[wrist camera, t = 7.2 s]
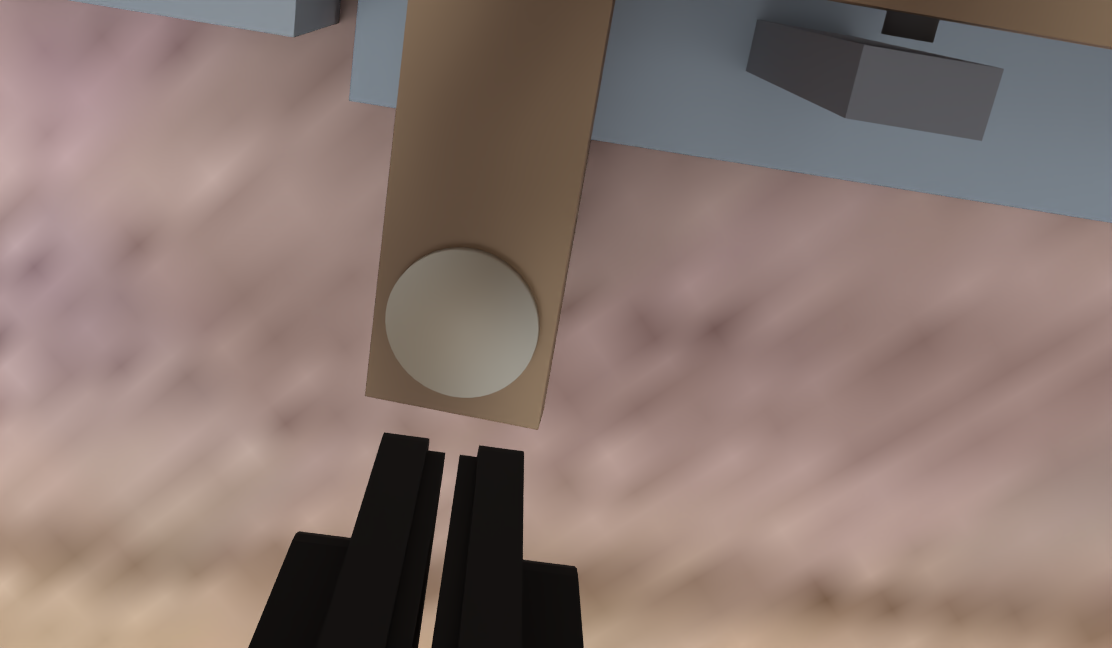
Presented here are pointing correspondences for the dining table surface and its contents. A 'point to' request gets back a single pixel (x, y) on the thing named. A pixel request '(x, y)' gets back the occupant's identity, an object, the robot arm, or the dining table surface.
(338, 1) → the tray
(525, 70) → the seesaw
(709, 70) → the fulcrum
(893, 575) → the dining table surface
